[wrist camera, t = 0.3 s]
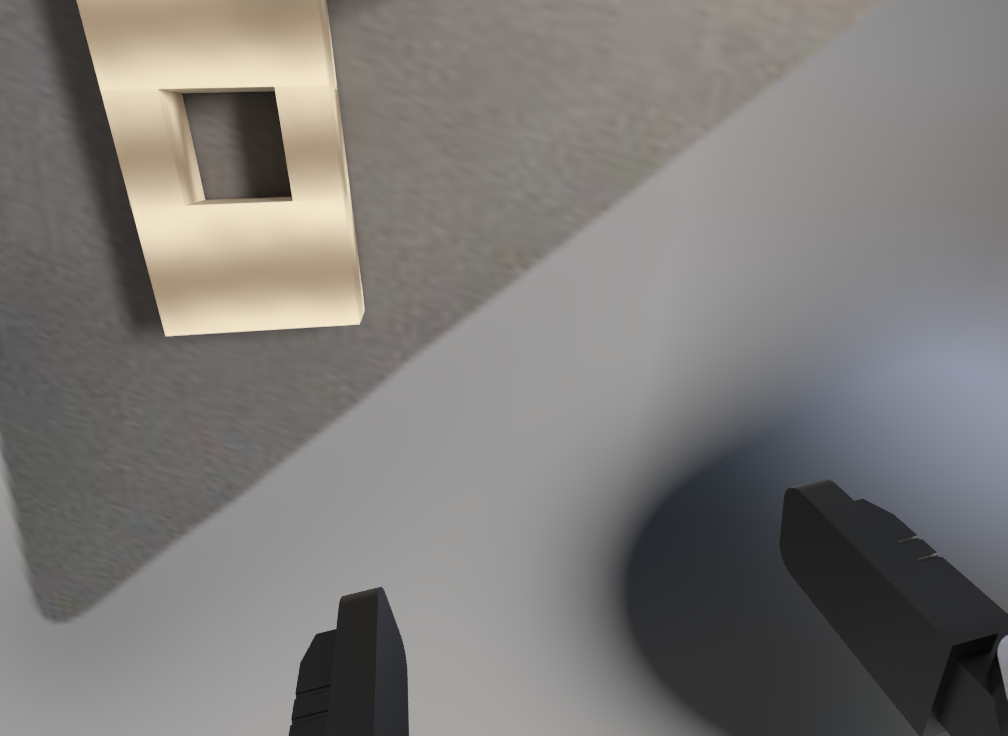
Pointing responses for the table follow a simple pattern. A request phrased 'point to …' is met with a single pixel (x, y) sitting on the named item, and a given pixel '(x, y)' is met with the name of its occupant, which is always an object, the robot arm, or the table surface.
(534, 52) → the table surface
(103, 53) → the jig
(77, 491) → the table surface
